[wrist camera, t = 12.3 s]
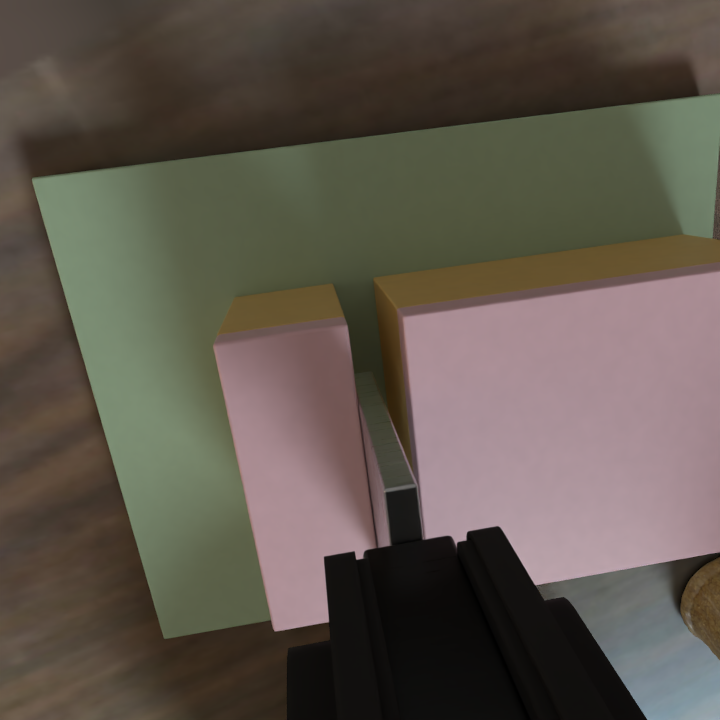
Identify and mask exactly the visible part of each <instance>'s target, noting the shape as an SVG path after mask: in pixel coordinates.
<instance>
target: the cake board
mask: <svg viewBox="0 0 720 720" xmlns="http://www.w3.org/2000/svg"><path fill="white" fill-rule="evenodd" d="M719 145H720V93H717V94H709V95H701V96H693V97H685V98H677V99H668V100H660V101H652V102H644V103H636V104H628V105H620V106H611V107H603V108H595V109H587V110H579V111H571V112H562V113H554V114H546V115H538V116H530V117H522V118H514V119H505V120H497V121H489V122H481V123H473V124H465V125H457V126H448V127H440V128H432V129H424V130H416V131H408V132H400V133H391V134H383V135H375V136H367V137H359V138H351V139H343V140H334V141H326V142H318V143H310V144H302V145H294V146H286V147H277V148H269V149H261V150H253V151H245V152H237V153H229V154H220V155H212V156H204V157H196V158H188V159H180V160H171V161H163V162H155V163H147V164H139V165H131V166H123V167H114V168H106V169H98V170H90V171H82V172H74V173H66V174H57V175H49V176H41V177H34V178H32V183H33V186H34V190H35V193H36V197H37V200H38V203H39V207H40V210H41V214H42V217H43V221H44V224H45V228H46V231H47V235H48V238H49V242H50V245H51V249H52V252H53V255H54V259H55V262H56V266H57V269H58V273H59V276H60V280H61V283H62V287H63V290H64V294H65V297H66V301H67V304H68V307H69V311H70V314H71V318H72V321H73V325H74V328H75V332H76V335H77V339H78V342H79V346H80V349H81V353H82V356H83V360H84V363H85V366H86V370H87V373H88V377H89V380H90V384H91V387H92V391H93V394H94V398H95V401H96V405H97V408H98V412H99V415H100V418H101V422H102V425H103V429H104V432H105V436H106V439H107V443H108V446H109V450H110V453H111V457H112V460H113V464H114V467H115V470H116V474H117V477H118V481H119V484H120V488H121V491H122V495H123V498H124V502H125V505H126V509H127V512H128V516H129V519H130V523H131V526H132V529H133V533H134V536H135V540H136V543H137V547H138V550H139V554H140V557H141V561H142V564H143V568H144V571H145V575H146V578H147V581H148V585H149V588H150V592H151V595H152V599H153V602H154V606H155V609H156V613H157V616H158V620H159V623H160V627H161V630H162V633H163V637H164V639H168V638H174V637H180V636H185V635H191V634H196V633H202V632H208V631H213V630H219V629H224V628H230V627H236V626H241V625H247V624H252V623H258V622H264V621H269V620H271V617H270V612H269V607H268V603H267V598H266V593H265V589H264V584H263V579H262V575H261V570H260V565H259V560H258V556H257V551H256V546H255V542H254V537H253V532H252V527H251V523H250V518H249V513H248V509H247V504H246V499H245V495H244V490H243V485H242V480H241V476H240V471H239V466H238V462H237V457H236V452H235V447H234V443H233V438H232V433H231V429H230V424H229V419H228V415H227V410H226V405H225V400H224V396H223V391H222V386H221V382H220V377H219V372H218V367H217V363H216V358H215V353H214V349H213V344H214V342H215V340H216V337H217V334H218V332H219V329H220V327H221V325H222V323H223V321H224V319H225V317H226V315H227V312H228V310H229V308H230V306H231V304H232V302H233V300H234V298H235V297H239V296H246V295H253V294H260V293H268V292H275V291H282V290H289V289H296V288H303V287H310V286H317V285H324V284H333V285H334V288H335V291H336V294H337V296H338V299H339V302H340V305H341V308H342V310H343V313H344V316H345V320H346V323H347V325H348V331H349V338H350V346H351V354H352V361H353V369H354V374H356V373H362V372H369V371H371V372H372V373H373V375H374V378H375V380H376V383H377V385H378V388H379V390H380V393H381V395H382V398H383V400H384V403H385V405H386V408H387V410H388V407H387V398H386V389H385V380H384V371H383V362H382V353H381V344H380V336H379V327H378V318H377V309H376V300H375V291H374V282H373V278H375V277H381V276H388V275H395V274H402V273H410V272H417V271H424V270H431V269H438V268H445V267H453V266H460V265H467V264H474V263H481V262H488V261H495V260H503V259H510V258H517V257H524V256H531V255H538V254H546V253H553V252H560V251H567V250H574V249H581V248H589V247H596V246H603V245H610V244H617V243H624V242H631V241H639V240H646V239H653V238H660V237H667V236H674V235H682V234H686V235H692V236H698V237H705V238H711V239H712V238H713V225H714V211H715V198H716V185H717V172H718V159H719Z"/></svg>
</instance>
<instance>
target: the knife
mask: <svg viewBox="0 0 720 720" xmlns="http://www.w3.org/2000/svg"><path fill="white" fill-rule="evenodd" d="M354 376H355V384H356V391H357V399H358V406H359V414H360V422H361V429H362V437H363V444H364V452H365V459H366V467H367V474H368V482H369V490H370V497H371V505H372V512H373V520H374V527H375V535H376V543H377V548H373V549H367V550H365V551H364V554H363V559H364V558H369V563H370V568H371V573H372V577H373V582H374V587H375V592H376V597H377V602H378V607H379V612H380V617H381V622H382V627H383V632H384V637H385V642H386V647H387V652H388V657H389V662H390V667H391V672H392V677H393V682H394V687H395V692H396V697H397V702H398V707H399V712H400V717H401V720H531V719H530V717H529V715H528V713H527V710H526V708H525V706H524V703H523V701H522V699H521V697H520V694H519V692H518V690H517V687H516V685H515V683H514V681H513V678H512V676H511V674H510V671H509V669H508V667H507V665H506V662H505V660H504V658H503V655H502V653H501V651H500V649H499V646H498V644H497V642H496V639H495V637H494V635H493V633H492V630H491V628H490V626H489V624H488V621H487V619H486V617H485V614H484V612H483V610H482V608H481V605H480V603H479V601H478V598H477V596H476V594H475V592H474V589H473V587H472V585H471V582H470V580H469V578H468V576H467V573H466V571H465V569H464V566H463V564H462V562H461V560H460V557H459V555H458V553H457V546H456V544H455V542H454V540H453V538H452V537H451V536H448V535H447V536H441V537H435V538H430V539H423V529H422V520H421V510H420V501H419V492H418V485H417V482H416V480H415V477H414V475H413V472H412V470H411V467H410V465H409V462H408V460H407V457H406V455H405V452H404V450H403V447H402V445H401V442H400V440H399V437H398V435H397V432H396V430H395V427H394V425H393V423H392V420H391V418H390V415H389V413H388V410H387V408H386V405H385V403H384V400H383V398H382V395H381V393H380V390H379V388H378V385H377V383H376V380H375V378H374V375H373V373H372V372H371V371H369V372H362V373H356V374H354Z"/></svg>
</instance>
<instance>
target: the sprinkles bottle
mask: <svg viewBox="0 0 720 720" xmlns="http://www.w3.org/2000/svg"><path fill="white" fill-rule="evenodd" d="M680 612H681V615H682V618H683V621H684V623H685V624H686V626H687V627H688V629H689V630H690V632H691V633H692V634H693V635H694V636H696V637H698V638H699V639H701V640H702V641H703V642H704V643H705V644H706V645H707V646H708V647H709V648H710V649H711V651H712V652H713V653H714V654H715V655H716V656H717V657H718V659H719V660H720V557H718V558H717V559H715V560H713V561H711V562H709V563H707V564H706V565H705V566H703V567H702V568H701V569H699V570H698V571H697V572H696V573H695V574H694V575H693V576H692V577H691V579H690V580H689V582H688V584H687V586H686V588H685V591H684V593H683V595H682V599H681V611H680Z"/></svg>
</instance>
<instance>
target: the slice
mask: <svg viewBox="0 0 720 720" xmlns="http://www.w3.org/2000/svg"><path fill="white" fill-rule="evenodd" d="M213 349H214V353H215V358H216V363H217V367H218V372H219V377H220V382H221V386H222V391H223V396H224V400H225V405H226V410H227V415H228V419H229V424H230V429H231V433H232V438H233V443H234V447H235V452H236V457H237V462H238V466H239V471H240V476H241V480H242V485H243V490H244V495H245V499H246V504H247V509H248V513H249V518H250V523H251V527H252V532H253V537H254V542H255V546H256V551H257V556H258V560H259V565H260V570H261V575H262V579H263V584H264V589H265V593H266V598H267V603H268V607H269V612H270V617H271V622H272V626H273V629H274V631H282V630H287V629H293V628H298V627H304V626H309V625H315V624H320V623H326V622H329V615H328V603H327V591H326V579H325V567H324V556H330V555H335V554H341V553H347V552H352V551H355V556H356V560H358V559H363V554H364V551H365V550H367V549H373V548H377V543H376V535H375V527H374V520H373V512H372V505H371V497H370V490H369V482H368V474H367V467H366V459H365V452H364V444H363V437H362V429H361V422H360V414H359V406H358V399H357V391H356V384H355V376H354V369H353V361H352V354H351V346H350V338H349V331H348V325H347V323H346V320H345V316H344V313H343V310H342V308H341V305H340V302H339V299H338V296H337V294H336V291H335V288H334V285H333V284H324V285H317V286H310V287H303V288H296V289H289V290H282V291H275V292H268V293H260V294H253V295H246V296H239V297H235V298H234V300H233V302H232V304H231V306H230V308H229V310H228V312H227V315H226V317H225V319H224V321H223V323H222V325H221V327H220V329H219V332H218V334H217V337H216V340H215V342H214V344H213Z"/></svg>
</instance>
